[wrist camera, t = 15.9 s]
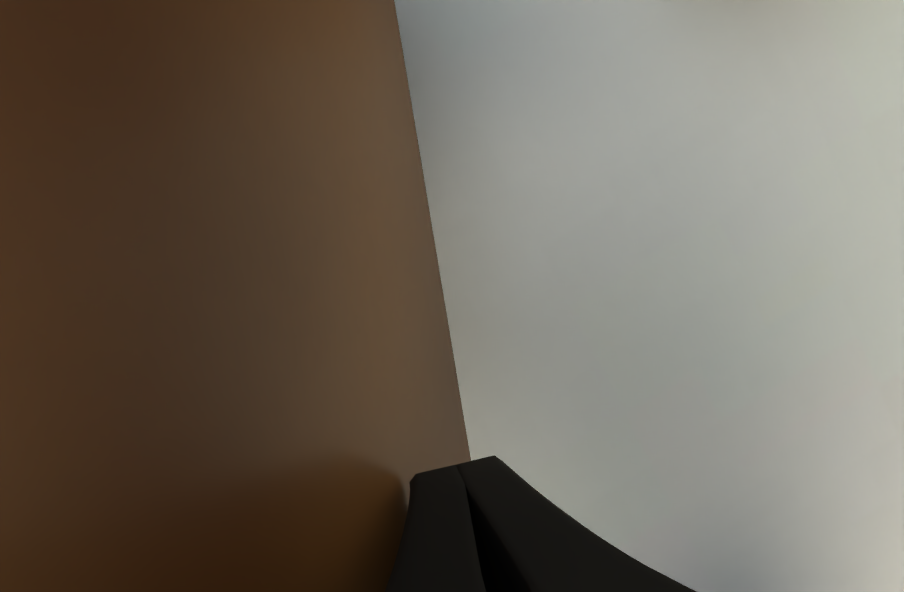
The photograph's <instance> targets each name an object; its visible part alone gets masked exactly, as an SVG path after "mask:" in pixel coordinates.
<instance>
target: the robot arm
mask: <svg viewBox="0 0 904 592" xmlns="http://www.w3.org/2000/svg"><path fill="white" fill-rule="evenodd" d="M409 484H410V496H409V505H408V511H407V516H406V521H405V526H404V530H403V534H402V538H401V541H400V545H399V549H398V552H397V556H396V560H395V563H394V566H393V569H392V573H391V575H390V578H389V581H388V584H387V586H386V589H385V592H696V591H694V590H692V589H690V588H688V587H686V586H684V585H682V584H680V583H678V582H676V581H675V580H673V579H671V578H669V577H667V576H665V575H663V574H661V573H659V572H657V571H655V570H653V569H651V568H650V567H648V566H646V565H644V564H642V563H641V562H639V561H637V560H635V559H634V558H632V557H630V556H628V555H627V554H625V553H624V552H622V551H621V550H619V549H617V548H616V547H614V546H613V545H611V544H610V543H608V542H606V541H605V540H603V539H602V538H600V537H599V536H597V535H596V534H594V533H593V532H592V531H590V530H589V529H587V528H586V527H584V526H583V525H581V524H580V523H579V522H577V521H576V520H575V519H573V518H572V517H571V516H569V515H568V514H566V513H565V512H564V511H562V510H561V509H560V508H558V507H557V506H556V505H554V504H553V503H552V502H550V501H549V500H548V499H547V498H545V497H544V496H543V495H542V494H540V493H539V492H538V491H537V490H535V489H534V488H533V487H532V486H531V485H529V484H528V483H527V482H526V481H525V480H523V479H522V478H521V477H520V476H519V475H518V474H516V473H515V472H514V471H513V470H512V469H511V468H510V467H508V466H507V465H506V464H505V463H504V462H503V461H502V460H500V459H499V458H497V457H496V456H490V457H486V458H482V459H477V460H473V461H469V462H464V463H460V464H456V465H451V466H447V467H443V468H438V469H434V470H430V471H425V472H421V473H417V474H415V475H414V477H413V478H412V479H411V481H410V482H409Z"/></svg>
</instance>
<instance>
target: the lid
mask: <svg viewBox="0 0 904 592" xmlns="http://www.w3.org/2000/svg"><path fill="white" fill-rule="evenodd" d="M469 461H471V458H470V452H469V446H468V440H467V434H466V428H465V422H464V416H463V410H462V404H461V398H460V392H459V386H458V380H457V374H456V368H455V362H454V356H453V350H452V344H451V338H450V332H449V326H448V320H447V314H446V308H445V302H444V296H443V290H442V284H441V278H440V272H439V266H438V260H437V254H436V248H435V242H434V236H433V230H432V224H431V218H430V212H429V206H428V200H427V194H426V188H425V182H424V176H423V170H422V164H421V158H420V152H419V146H418V140H417V134H416V128H415V122H414V116H413V110H412V104H411V98H410V92H409V86H408V80H407V74H406V68H405V62H404V56H403V50H402V44H401V38H400V32H399V26H398V20H397V14H396V8H395V2H394V0H0V592H385V589H386V586H387V584H388V581H389V578H390V575H391V573H392V569H393V566H394V563H395V560H396V556H397V552H398V549H399V545H400V541H401V538H402V534H403V530H404V526H405V521H406V516H407V511H408V505H409V496H410V484H409V482H410V481H411V479H412V478H413V477H414V475H415V474H417V473H421V472H425V471H430V470H434V469H438V468H443V467H447V466H451V465H456V464H460V463H464V462H469Z"/></svg>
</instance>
